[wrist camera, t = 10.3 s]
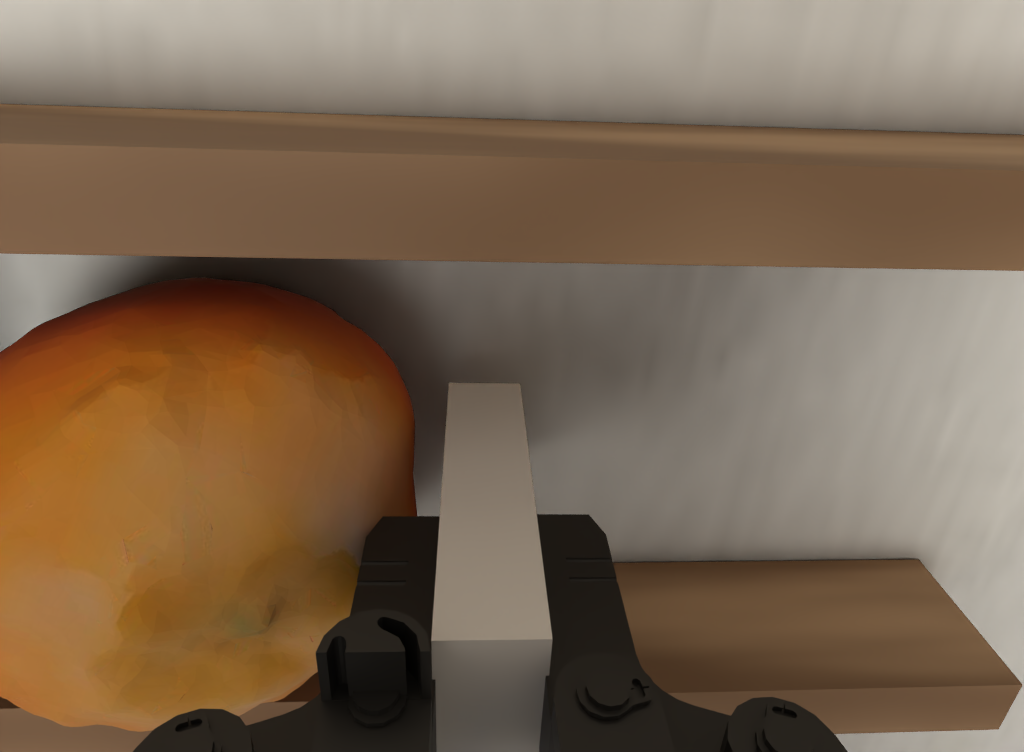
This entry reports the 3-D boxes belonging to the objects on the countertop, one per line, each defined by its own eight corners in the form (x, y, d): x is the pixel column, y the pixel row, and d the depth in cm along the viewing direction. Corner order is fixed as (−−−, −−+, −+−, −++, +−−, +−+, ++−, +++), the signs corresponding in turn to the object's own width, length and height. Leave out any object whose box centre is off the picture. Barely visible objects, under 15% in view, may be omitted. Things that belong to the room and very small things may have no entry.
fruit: (-109, 171, 12) (-160, 449, 6) (339, 215, 16) (529, 393, 11) (-68, 539, 15) (-78, 921, 10) (292, 487, 20) (419, 722, 14)
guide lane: (902, 600, 20) (1046, 793, 15) (-67, 614, 18) (-268, 838, 13) (1085, 137, 14) (1420, 202, 9) (-313, 94, 12) (-835, 146, 7)
